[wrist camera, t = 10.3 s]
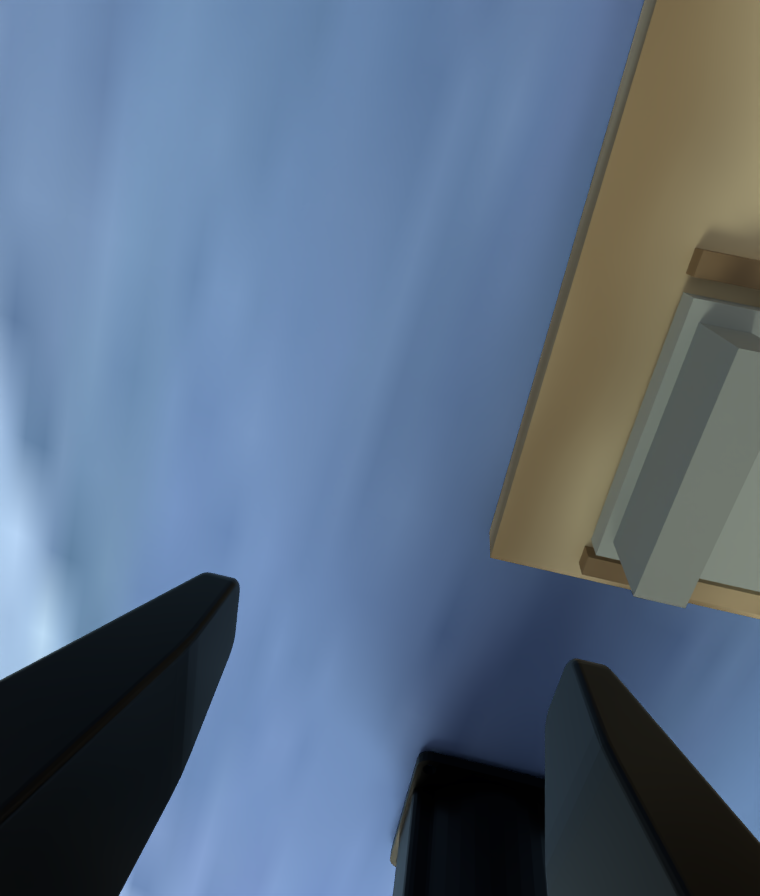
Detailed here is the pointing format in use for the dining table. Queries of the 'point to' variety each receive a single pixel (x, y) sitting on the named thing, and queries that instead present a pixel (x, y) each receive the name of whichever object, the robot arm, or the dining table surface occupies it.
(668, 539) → the slide cover
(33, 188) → the dining table surface
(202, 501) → the dining table surface
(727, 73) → the puzzle board
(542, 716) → the dining table surface
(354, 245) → the dining table surface
